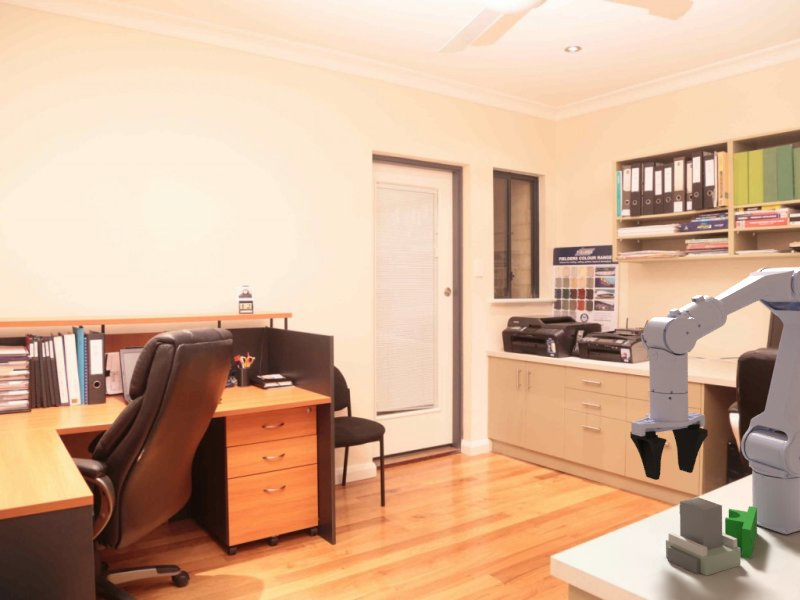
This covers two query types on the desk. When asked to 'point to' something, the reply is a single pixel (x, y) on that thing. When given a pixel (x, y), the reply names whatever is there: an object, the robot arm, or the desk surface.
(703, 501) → the dark grey block
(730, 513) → the pipe clamp
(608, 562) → the desk surface
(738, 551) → the pale grey-green blocky piece
